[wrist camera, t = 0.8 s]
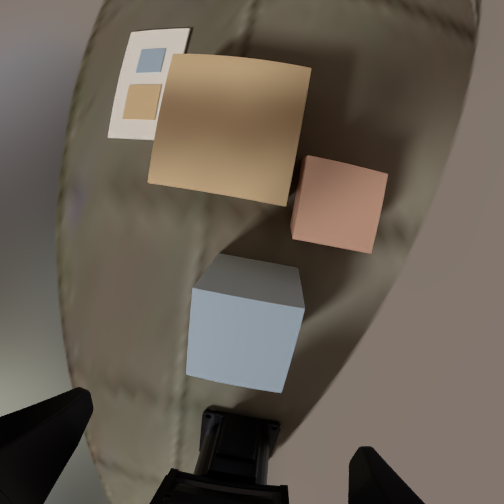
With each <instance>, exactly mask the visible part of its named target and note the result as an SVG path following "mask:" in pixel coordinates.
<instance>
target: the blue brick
mask: <svg viewBox="0 0 504 504" xmlns="http://www.w3.org/2000/svg"><path fill="white" fill-rule="evenodd" d="M304 311H305V305H304V299H303V293H302V287H301V281H300V275H299V270H298V267H292V266H287V265H281V264H276V263H270V262H264V261H259V260H253V259H248V258H242V257H237V256H231V255H226V254H221V253H219V254H218V255H217V256H216V258H215V259H214V260H213V262H212V263H211V264H210V266H209V267H208V268H207V270H206V271H205V272H204V273H203V275H202V276H201V277H200V279H199V280H198V281H197V283H196V284H195V285H194V287H193V290H192V301H191V312H190V324H189V337H188V351H187V367H186V375H190V376H194V377H198V378H202V379H207V380H211V381H216V382H221V383H226V384H231V385H236V386H241V387H246V388H252V389H258V390H264V391H270V392H277V393H282V390H283V387H284V383H285V380H286V377H287V373H288V370H289V366H290V363H291V359H292V356H293V352H294V349H295V345H296V341H297V338H298V334H299V330H300V327H301V323H302V319H303V315H304Z"/></svg>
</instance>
